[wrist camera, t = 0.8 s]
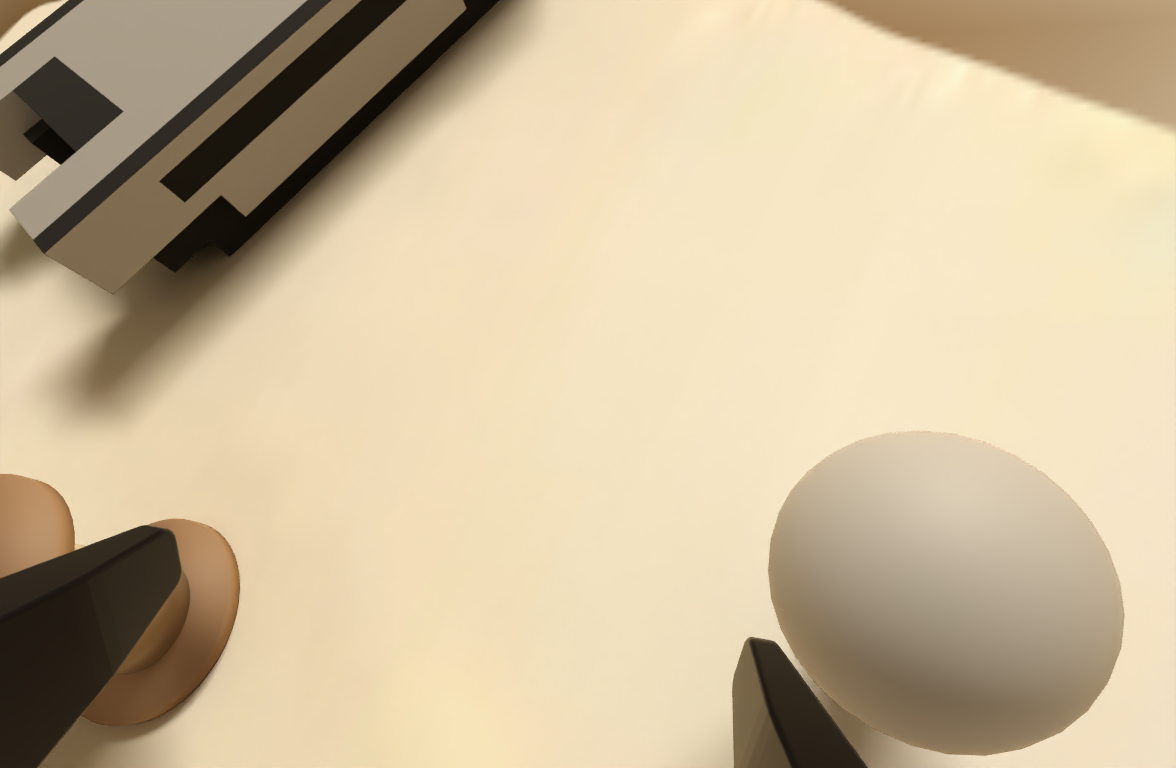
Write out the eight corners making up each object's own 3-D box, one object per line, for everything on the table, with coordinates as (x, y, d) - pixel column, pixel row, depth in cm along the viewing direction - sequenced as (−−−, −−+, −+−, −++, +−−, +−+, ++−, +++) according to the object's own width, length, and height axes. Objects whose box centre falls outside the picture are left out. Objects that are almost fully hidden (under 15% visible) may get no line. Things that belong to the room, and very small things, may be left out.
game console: (48, 191, 42) (-96, 93, 35) (367, -83, 48) (299, -215, 41) (175, 330, 33) (14, 236, 26) (549, -29, 39) (503, -187, 32)
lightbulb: (975, 543, 19) (1202, 418, 10) (961, 752, 17) (1233, 861, 8) (779, 498, 21) (804, 357, 12) (745, 680, 19) (741, 693, 10)
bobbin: (176, 753, 23) (-63, 789, 16) (40, 689, 25) (-215, 697, 19) (270, 543, 26) (101, 500, 19) (140, 505, 28) (-51, 454, 21)
